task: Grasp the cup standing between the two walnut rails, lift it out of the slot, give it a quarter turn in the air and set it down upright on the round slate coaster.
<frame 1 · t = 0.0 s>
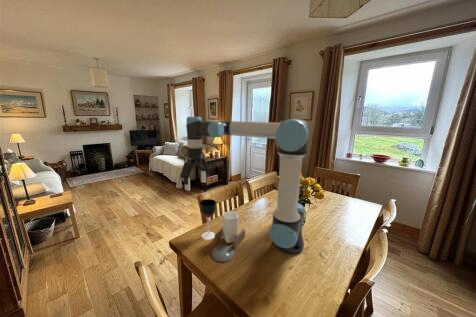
hand: (195, 185, 103), 28 cm above the table, fingers open, 13 cm apart
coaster: (223, 253, 92), on the table
rail slot: (230, 239, 103), on the table
cup: (230, 240, 103), on the table
wineglass: (208, 235, 106), on the table
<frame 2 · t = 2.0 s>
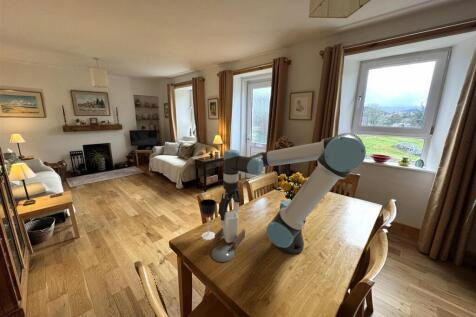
hand: (229, 218, 100), 12 cm above the table, fingers open, 13 cm apart
nothing on the table moved.
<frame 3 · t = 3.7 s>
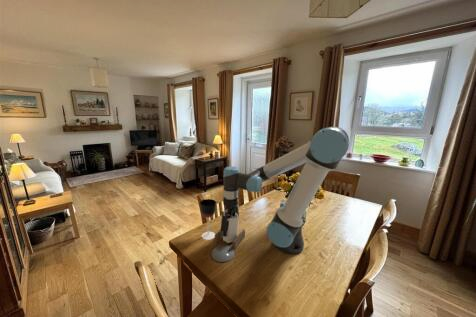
hand: (230, 235, 102), 2 cm above the table, fingers closed on cup, 9 cm apart
cup: (230, 240, 103), on the table, touching gripper
everything else where it was.
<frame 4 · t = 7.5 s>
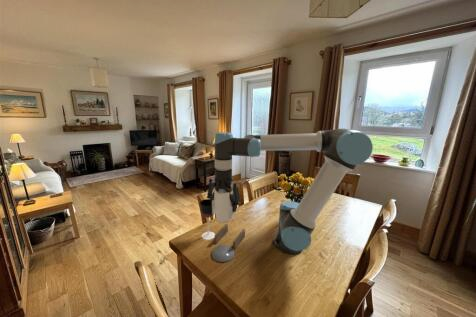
hand: (223, 215, 88), 21 cm above the table, fingers closed on cup, 9 cm apart
cup: (223, 220, 88), point 18 cm above the table, touching gripper
everything else where it was.
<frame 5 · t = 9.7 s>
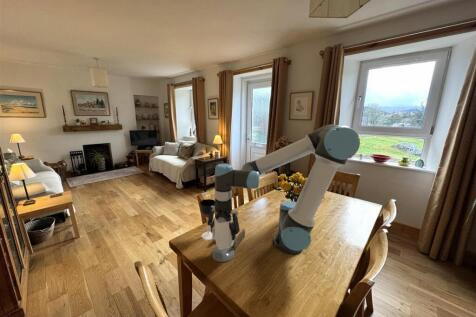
hand: (222, 241, 91), 7 cm above the table, fingers closed on cup, 9 cm apart
cup: (222, 246, 91), point 4 cm above the table, touching gripper
everything else where it was.
when the fingers open (4 cm above the table, at t = 11.2 s): cup drops 1 cm, resting on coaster.
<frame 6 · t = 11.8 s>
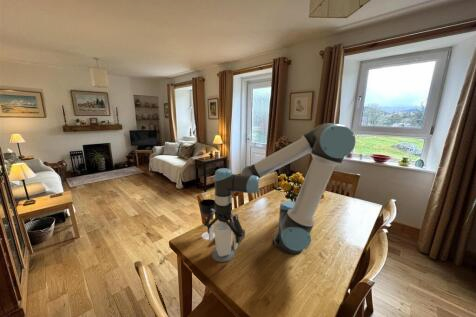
hand: (223, 243, 91), 6 cm above the table, fingers open, 13 cm apart
cup: (223, 253, 92), resting on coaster
everything else where it was.
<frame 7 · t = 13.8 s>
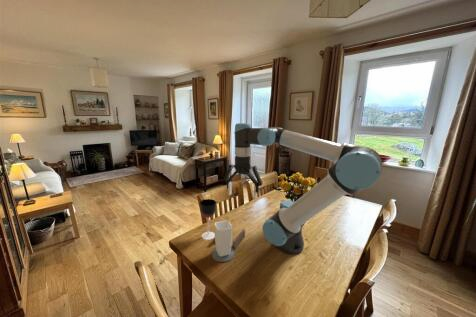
hand: (242, 196, 97), 25 cm above the table, fingers open, 13 cm apart
nothing on the table moved.
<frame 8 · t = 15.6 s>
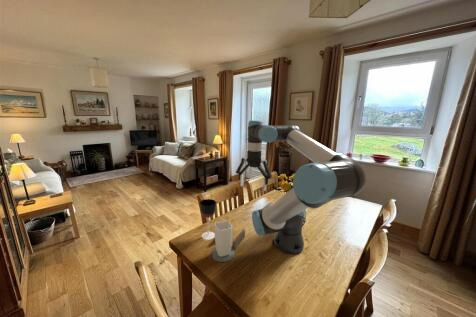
hand: (252, 187, 105), 27 cm above the table, fingers open, 13 cm apart
nothing on the table moved.
at the end: cup inside the target area on the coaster (0.1 cm from its centre), point 0.4 cm above the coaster's base; cup tilted 0°; the gripper is holding nothing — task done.
